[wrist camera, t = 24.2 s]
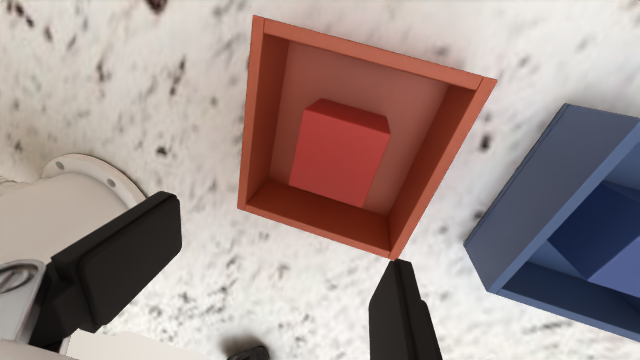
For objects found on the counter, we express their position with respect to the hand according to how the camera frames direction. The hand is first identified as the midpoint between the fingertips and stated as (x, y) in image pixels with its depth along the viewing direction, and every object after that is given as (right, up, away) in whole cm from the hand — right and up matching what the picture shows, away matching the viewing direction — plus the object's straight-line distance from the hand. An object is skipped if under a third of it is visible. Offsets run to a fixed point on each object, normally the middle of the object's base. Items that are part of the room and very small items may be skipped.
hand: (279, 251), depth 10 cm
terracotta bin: (+4, +6, +7) cm, 10 cm away
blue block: (+20, +1, +5) cm, 20 cm away
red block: (+3, +6, +6) cm, 9 cm away
